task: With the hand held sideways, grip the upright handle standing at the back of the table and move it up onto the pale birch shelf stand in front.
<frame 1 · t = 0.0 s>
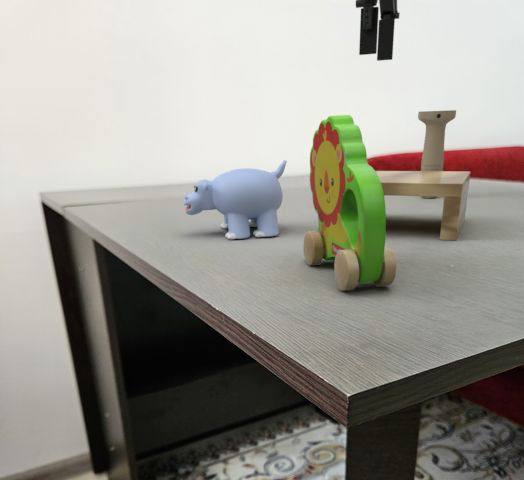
hand: (376, 57, 92), 24 cm above the table, tool pointing down, fingers open, 13 cm apart
handle: (429, 198, 100), on the table
toy lion: (341, 273, 56), on the table
shelf stand: (402, 227, 75), on the table
hippopotamus toy: (238, 233, 76), on the table
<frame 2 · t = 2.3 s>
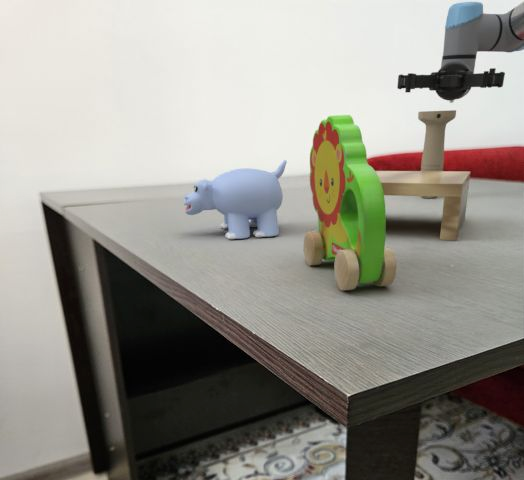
hand: (446, 80, 98), 20 cm above the table, tool horizontal, fingers open, 13 cm apart
nothing on the table moved.
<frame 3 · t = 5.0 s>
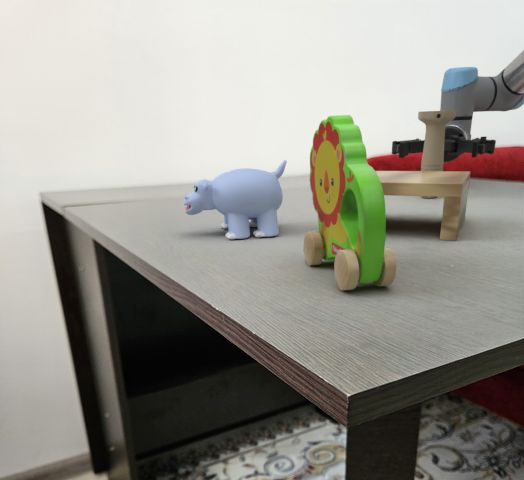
hand: (436, 150, 101), 8 cm above the table, tool horizontal, fingers open, 13 cm apart
nothing on the table moved.
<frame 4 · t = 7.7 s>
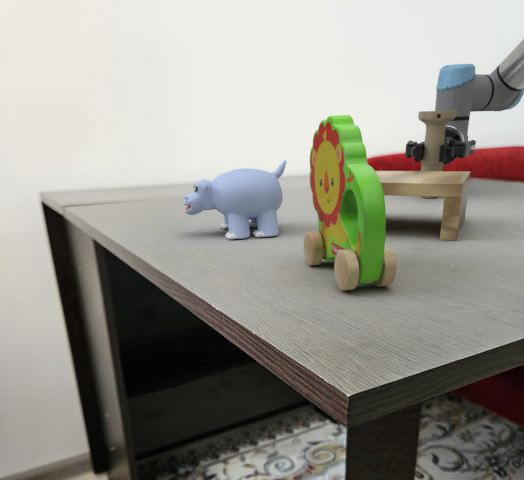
hand: (429, 153, 92), 8 cm above the table, tool horizontal, fingers closed on handle, 3 cm apart
handle: (428, 198, 100), on the table, touching gripper
everything else where it was.
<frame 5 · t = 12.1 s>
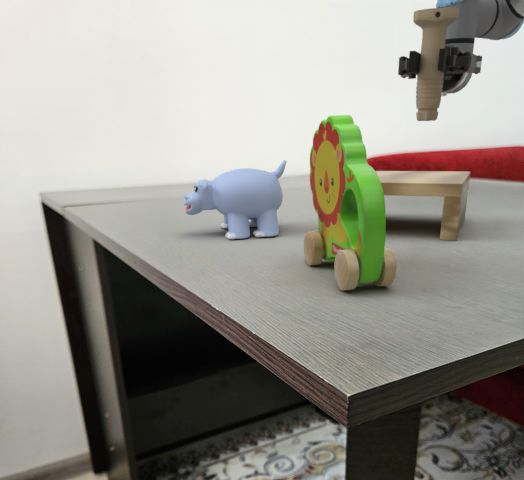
hand: (426, 60, 76), 22 cm above the table, tool horizontal, fingers closed on handle, 3 cm apart
handle: (426, 122, 84), point 13 cm above the table, touching gripper
everything else where it was.
when the fingers open (15 cm above the table, at t = 16.9 s): handle stays where it is, resting on shelf stand.
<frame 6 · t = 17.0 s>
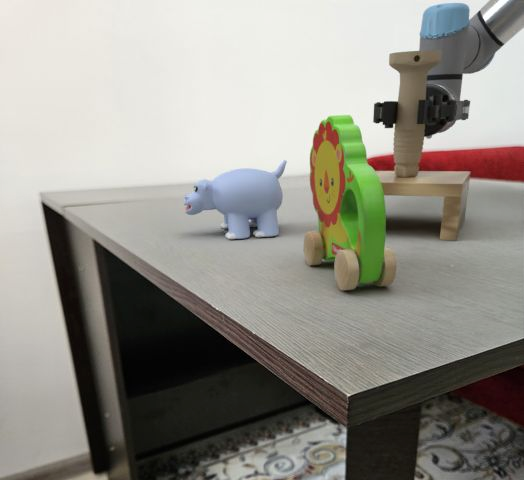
hand: (403, 112, 65), 15 cm above the table, tool horizontal, fingers open, 3 cm apart
handle: (405, 177, 73), point 7 cm above the table, touching shelf stand
everything else where it was.
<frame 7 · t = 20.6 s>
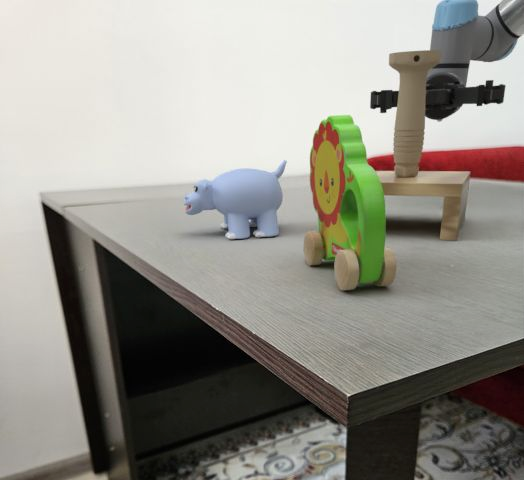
hand: (430, 97, 76), 17 cm above the table, tool horizontal, fingers open, 13 cm apart
nothing on the table moved.
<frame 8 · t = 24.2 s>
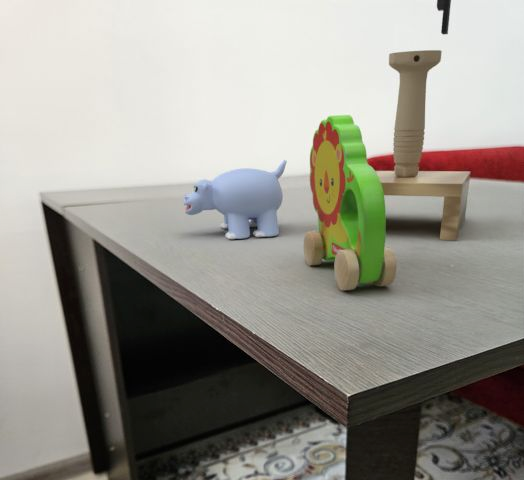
hand: (488, 29, 84), 27 cm above the table, tool pointing down, fingers open, 13 cm apart
nothing on the table moved.
at the end: handle inside the target area on the shelf stand (0.0 cm from its centre), point 6.8 cm above the shelf stand's base; handle tilted 0°; the gripper is holding nothing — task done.
